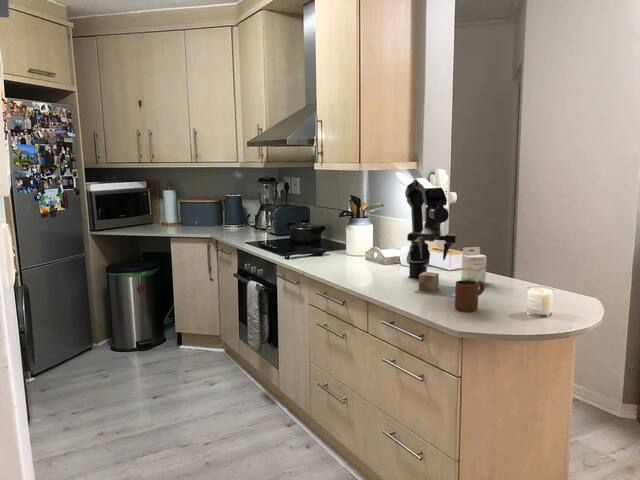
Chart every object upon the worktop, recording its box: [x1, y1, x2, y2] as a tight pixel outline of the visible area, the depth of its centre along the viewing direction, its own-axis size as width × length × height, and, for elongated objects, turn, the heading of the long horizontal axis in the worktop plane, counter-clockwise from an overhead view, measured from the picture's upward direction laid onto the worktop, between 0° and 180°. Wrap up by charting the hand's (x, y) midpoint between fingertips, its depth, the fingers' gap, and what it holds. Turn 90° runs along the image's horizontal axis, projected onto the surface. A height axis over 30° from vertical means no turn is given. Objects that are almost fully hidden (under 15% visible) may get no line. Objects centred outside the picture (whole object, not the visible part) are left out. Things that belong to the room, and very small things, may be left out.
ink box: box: [460, 246, 487, 284], centre depth 215 cm, size 9×5×15 cm, turn 105°
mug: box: [454, 280, 486, 313], centre depth 180 cm, size 12×8×9 cm, turn 120°
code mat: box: [412, 284, 479, 299], centre depth 203 cm, size 22×16×1 cm
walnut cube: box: [418, 271, 440, 292], centre depth 206 cm, size 6×6×6 cm
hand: (432, 259), depth 205 cm, fingers open, 9 cm apart
